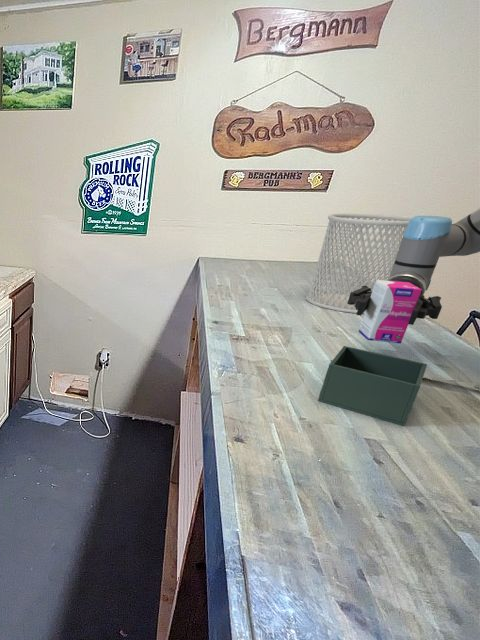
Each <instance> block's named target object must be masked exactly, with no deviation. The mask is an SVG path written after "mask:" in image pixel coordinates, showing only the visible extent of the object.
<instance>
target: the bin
mask: <svg viewBox="0 0 480 640" xmlns="http://www.w3.org/2000/svg"><path fill="white" fill-rule="evenodd" d="M427 367H428V364H427V363H424V362H419V361H414V360H410V359H406V358H401V357H396V356H392V355H387V354H383V353H378V352H373V351H368V350H364V349H360V348H356V347H351V346H347V345H343V346H342V347H341V349H340V351H338V353H337V354H336V355H335V357H334V358H333V359H332V360H331V361H330V363H329V364H328V367H327V370H326V373H325V377H324V380H323V383H322V386H321V389H320V393H319V396H318V399H317V401H318V402H321V403H324V404H327V405H331V406H334V407H338V408H340V409H344V410H348V411H351V412H355V413H358V414H361V415H364V416H367V417H368V416H369V417H372V418H375V419H378V420H382V421H385V422H389V423H393V424H397V425H398V426H399V425H400V426H403V427H404V426H405V424H406V423H407V420H408V418H409V415H410V414H411V413H410V412H411V410H412V408H413V405H414V403H415V400H416V398H417V395H418V394H419V391H420V388H421V385H422V382H423V379H424V376H425V373H426V369H427Z"/></svg>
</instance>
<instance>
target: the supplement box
mask: <svg viewBox="0 0 480 640" xmlns="http://www.w3.org/2000/svg"><path fill="white" fill-rule="evenodd" d="M372 289H373V291H372V294H371V297H370V300H369V303H368V306H367V309H366V311H365V314H363V317H362V320H361V322H360V326H359V328H358V333H359V334H360V335H361V336H362V337H363V338H365V340H366V341H370V342H371V341H373V342H382V343H392V344H399V345H400V344H402V342H403V339H404V337H405V334H406V332H407V329H408V326H409V324H408V323H409V320H410V317H411V315H412V312H413V310H414V308H415V306H416V304H417V301H418V298H419V296H420V293H421V291H422V289H420V288H418V287H416V286H415V285H413V284H411V283H410V282H398V281H385V280H382V279H381V280H379V279H378V280H376V283H375V284H374V285H373V287H372Z"/></svg>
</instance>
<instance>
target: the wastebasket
mask: <svg viewBox="0 0 480 640" xmlns="http://www.w3.org/2000/svg"><path fill="white" fill-rule="evenodd" d="M411 218H412V217H410V216H402V215H394V214H393V215H391V214H379V213H352V212H351V213H350V212H348V213H346V212H345V213H331V214H329V215H328V216H327V219H328V223H327V228H326V231H325V235H324V238H323V242H322V245H321V249H320V252H319V257H318V260H317V263H316V267H315V271H314V274H313V278H312V281H311V285H310V289H309V292H308V295H306V297H305V299H306V301H307V302H309V303H310V304H312V305H315V306H317V307H320V308H323V309H327V310H331V311H337V312H342V313H349V314H350V313H351V314H357V311H358V310H356V307H354V306H355V304H354V305H349V304H347V303H348V299H349V296H350V293H351V292H353V291H356V290H358V289H360V288H361V287H362V286H368V287H369V288H371V290H373V287H374V286H375V283H376V280H385V281H387V280H388V279H389V277H390V274H391V271H392V268H393V265H394V263H395V259H396V256H397V253H398V250H399V247H400V244H401V241H402V238H403V234H404V232H405V230H406V228H407V225H408V223H409V221H410V219H411ZM357 229H358V230H357ZM363 229H364V230H365V231H364V232H363ZM370 229H371V232H369V230H370ZM377 229H378V231H377V232H376V230H377ZM383 230H384V232H383ZM389 231H390V233H389ZM358 235H359V237H358ZM364 236H366V237H364ZM371 236H373V238H372V239H371ZM378 237H379V238H378ZM377 238H378V239H377ZM384 238H385V239H384ZM353 242H354V243H353ZM359 242H360V243H359ZM366 242H367V245H366ZM373 243H374V244H373ZM372 244H373V245H372ZM379 244H380V245H379ZM367 250H368V251H367ZM373 251H374V252H373ZM368 257H369V258H368ZM341 258H342V259H341ZM332 269H333V270H332ZM337 269H338V271H337ZM343 269H344V272H343ZM349 271H350V272H349ZM333 275H334V276H333ZM338 275H339V277H338ZM344 276H345V278H344ZM334 280H335V283H334ZM339 282H340V283H339ZM345 283H346V284H345ZM329 287H331V288H329ZM335 287H336V288H335ZM334 288H335V289H334ZM340 289H341V290H340ZM365 311H366V310H365ZM365 311H364V313H363V314H362V315H364V314H365Z"/></svg>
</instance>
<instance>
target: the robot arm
mask: <svg viewBox="0 0 480 640" xmlns="http://www.w3.org/2000/svg"><path fill="white" fill-rule="evenodd" d="M400 241H401V240H400ZM478 253H480V207H479V208H477V209H475V210H474V211H472V212H471V213H470V214H468V215H466V216H465V217H463V218H461V219H460V220H458V221H457V222H455V223H453V220H452V218H450V217H448V216H439V215H415V216H412V217H411V219H410V221H409V223H408V225H407V228H406V230H405V232H404V234H403V236H402V241H401V244H400V247H399V249H398V253H397V256H396V259H395V263H393V264H394V265H393V268H392V269H391V270H392V271H391V274H390V275H389V276H390V277H389V279H388V278H387V279H388V280H387V281H398V282H410V283H411V284H413V285H415V286H416V287H418V288H420V289H422V291H421V293H420V296H419V298H418V301H417V304H416V306H415V308H414V310H413V312H412V315H411V317H410V320H409V323H408V325H411V326H414V324H415V322H416V321H417V319H420V320H425V318H426V317H427V316H428V317H429V318H430V319H432V320H436V319H439V316H440V314H441V310H442V308H443V306H442V304H441V300H442V297H441V296H440V295H439V296H438V295H435V296H428V297H427V298H426V297H425V293H426V292H427V291H428V290H429V287H430V285H431V281H432V277H433V275H434V272H435V269H436V266H437V264H438V261H439V258H444V257H455V256H457V257H465V256H470V255H471V256H472V255H474V254H478ZM361 286H362V285H361ZM368 286H369V285H367V286H362V287H361V288H360V289H359V288H358V290H356V291H354V290H353V291H352V292H351V293H350V296H349V299H348V303H347V304H349V305H354V304H355V306H354V307H356V310H358V311H357V313H355V315H356V316H362V315H364V314H363V313H364V311H365V310H366V309H367V306H368V303H369V300H370V297H371V294H372V291H373V290H371V288H369V287H368Z"/></svg>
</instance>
